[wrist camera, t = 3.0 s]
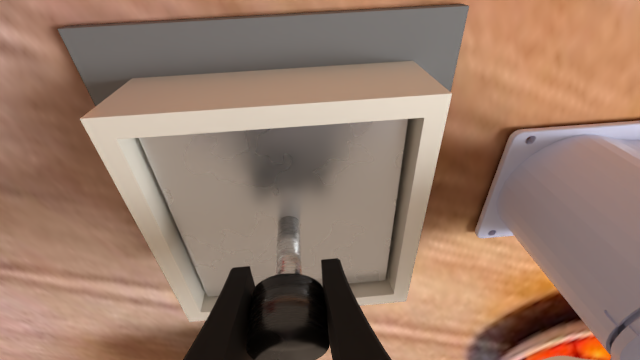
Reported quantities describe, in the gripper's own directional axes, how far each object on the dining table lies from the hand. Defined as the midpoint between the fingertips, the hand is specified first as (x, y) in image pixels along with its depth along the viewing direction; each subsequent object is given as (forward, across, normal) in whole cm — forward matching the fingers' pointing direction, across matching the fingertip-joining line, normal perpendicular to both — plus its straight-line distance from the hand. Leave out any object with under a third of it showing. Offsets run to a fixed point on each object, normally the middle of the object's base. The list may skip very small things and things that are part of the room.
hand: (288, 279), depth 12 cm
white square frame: (+7, 0, 0) cm, 7 cm away
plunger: (+4, 0, 0) cm, 4 cm away
